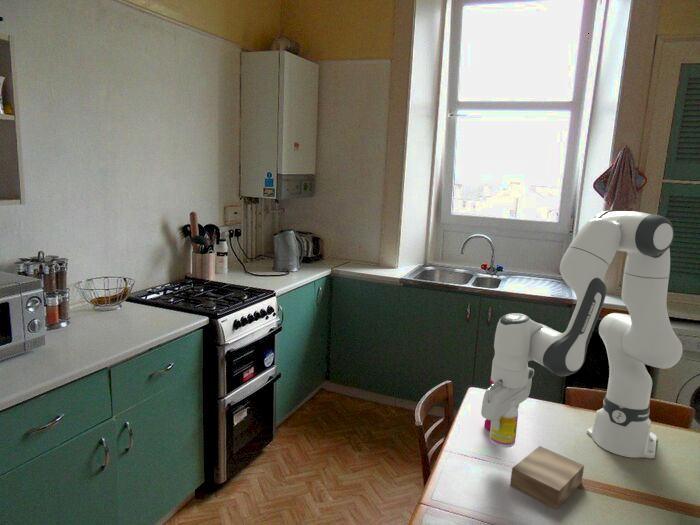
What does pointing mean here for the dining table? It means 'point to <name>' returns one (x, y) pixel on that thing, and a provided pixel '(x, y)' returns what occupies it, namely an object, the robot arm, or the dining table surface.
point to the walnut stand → (547, 476)
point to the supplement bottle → (506, 428)
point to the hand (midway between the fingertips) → (504, 423)
